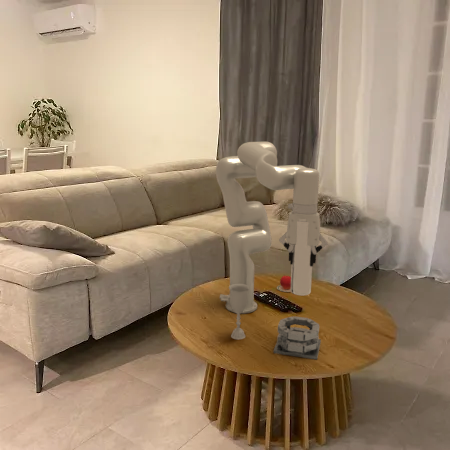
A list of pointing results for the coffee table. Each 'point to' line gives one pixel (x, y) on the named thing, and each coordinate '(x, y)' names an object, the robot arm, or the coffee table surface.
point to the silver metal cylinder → (301, 261)
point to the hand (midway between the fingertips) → (302, 263)
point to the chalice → (238, 306)
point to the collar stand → (298, 338)
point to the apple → (285, 284)
